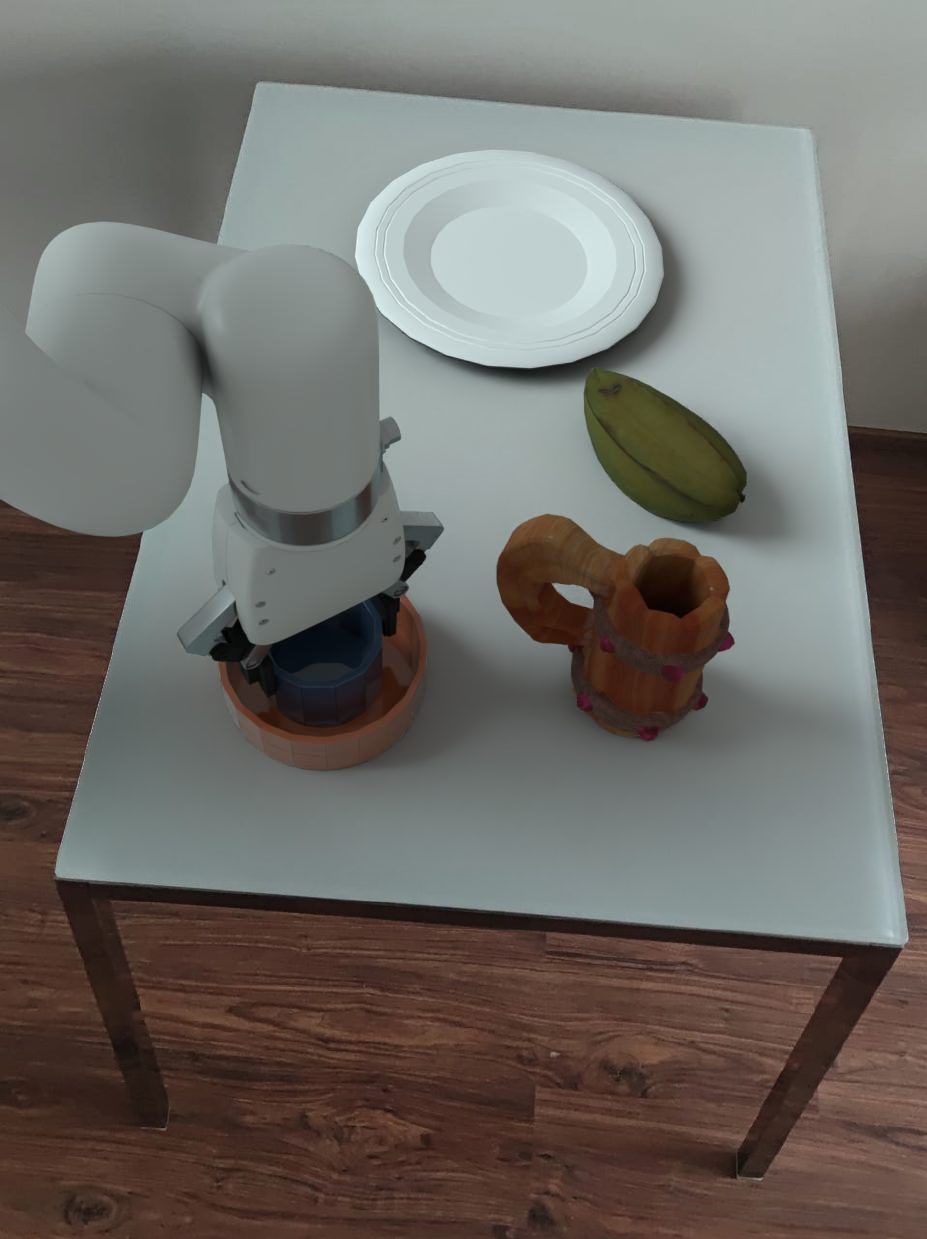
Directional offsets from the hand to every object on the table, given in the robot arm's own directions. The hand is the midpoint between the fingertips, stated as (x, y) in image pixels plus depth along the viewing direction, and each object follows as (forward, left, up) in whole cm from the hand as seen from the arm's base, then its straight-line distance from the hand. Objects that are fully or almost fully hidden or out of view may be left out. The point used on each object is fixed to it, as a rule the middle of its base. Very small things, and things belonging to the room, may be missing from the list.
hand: (321, 647), depth 76 cm
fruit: (+29, +3, -4) cm, 30 cm away
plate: (+31, +26, -4) cm, 41 cm away
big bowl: (0, 0, -4) cm, 4 cm away
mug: (+15, -9, -4) cm, 18 cm away
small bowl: (0, 0, -4) cm, 4 cm away
